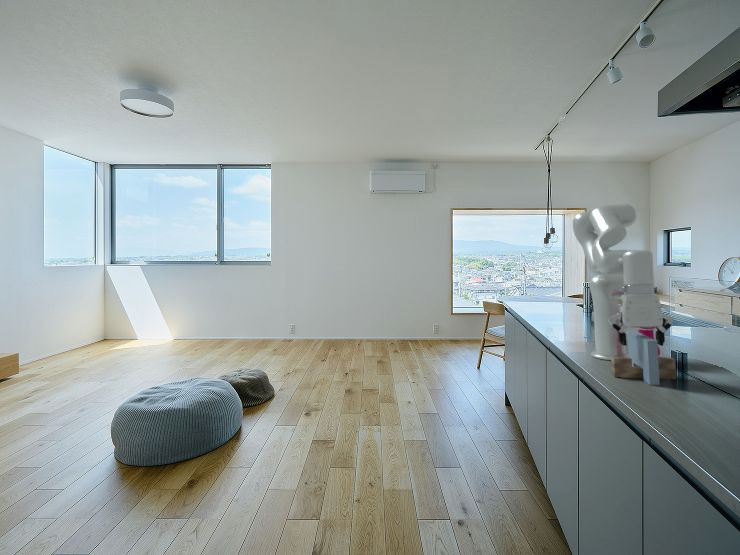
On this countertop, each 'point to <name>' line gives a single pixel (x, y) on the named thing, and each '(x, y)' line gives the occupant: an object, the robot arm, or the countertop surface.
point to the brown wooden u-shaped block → (626, 370)
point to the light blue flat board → (644, 355)
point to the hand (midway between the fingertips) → (641, 344)
